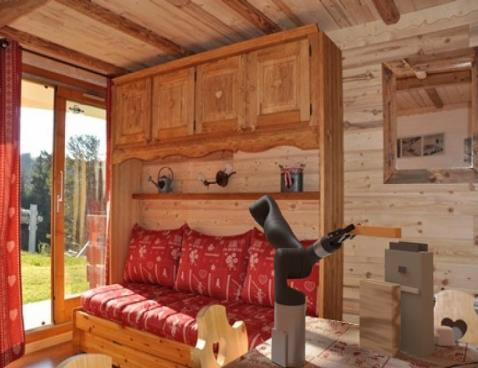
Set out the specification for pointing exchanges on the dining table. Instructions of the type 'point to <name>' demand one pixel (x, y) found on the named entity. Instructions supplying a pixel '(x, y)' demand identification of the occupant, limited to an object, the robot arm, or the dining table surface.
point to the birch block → (380, 316)
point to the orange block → (376, 231)
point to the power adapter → (443, 336)
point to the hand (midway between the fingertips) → (357, 225)
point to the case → (413, 294)
